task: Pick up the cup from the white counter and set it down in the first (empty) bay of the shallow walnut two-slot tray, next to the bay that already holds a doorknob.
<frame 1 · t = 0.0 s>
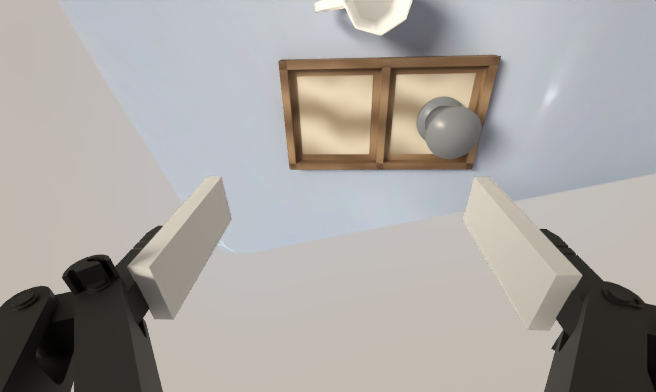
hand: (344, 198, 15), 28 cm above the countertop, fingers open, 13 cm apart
cup: (359, 2, 34), on the countertop
doorknob: (439, 120, 40), point 1 cm above the countertop, touching slot tray
slot tray: (381, 115, 41), on the countertop
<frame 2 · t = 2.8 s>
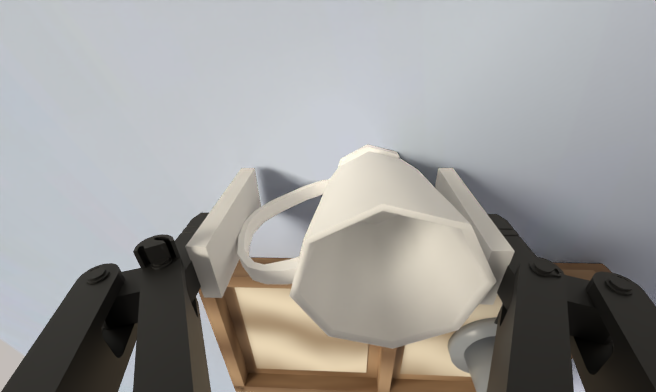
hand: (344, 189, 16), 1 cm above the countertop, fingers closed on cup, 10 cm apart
cup: (345, 181, 17), on the countertop, touching gripper
doorknob: (489, 343, 23), point 1 cm above the countertop, touching slot tray
slot tray: (386, 328, 24), on the countertop
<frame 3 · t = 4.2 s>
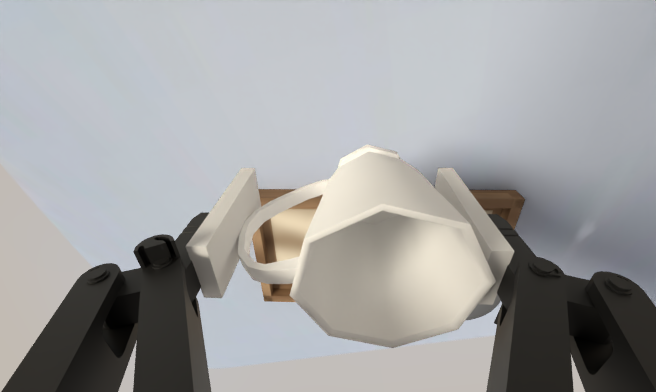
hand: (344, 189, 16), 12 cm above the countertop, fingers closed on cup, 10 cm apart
cup: (345, 181, 17), point 11 cm above the countertop, touching gripper
slot tray: (374, 246, 33), on the countertop
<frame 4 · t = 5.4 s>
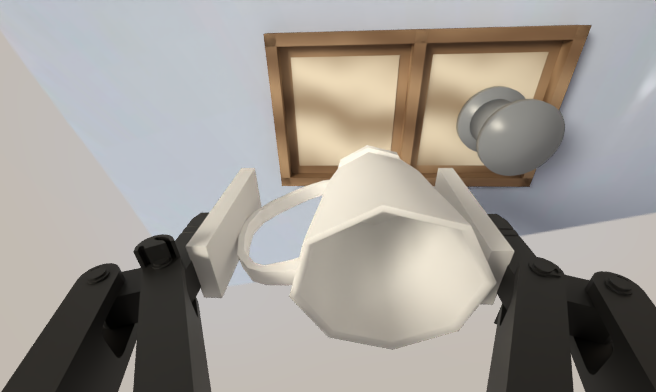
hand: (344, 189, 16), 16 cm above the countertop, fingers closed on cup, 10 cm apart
cup: (345, 181, 17), point 15 cm above the countertop, touching gripper
doorknob: (489, 119, 29), point 1 cm above the countertop, touching slot tray
slot tray: (407, 113, 30), on the countertop
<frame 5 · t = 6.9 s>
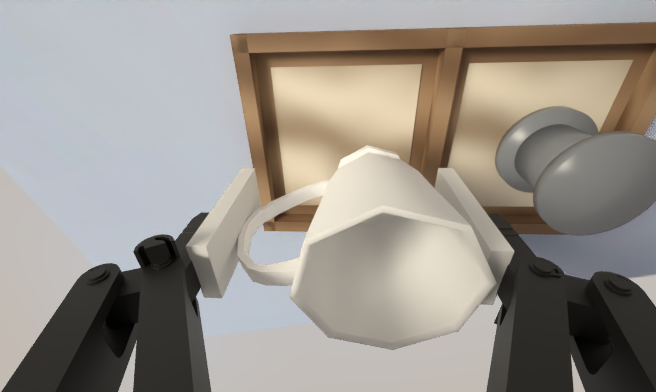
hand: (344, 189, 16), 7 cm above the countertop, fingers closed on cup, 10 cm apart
cup: (345, 182, 17), point 6 cm above the countertop, touching gripper
doorknob: (541, 150, 21), point 1 cm above the countertop, touching slot tray
slot tray: (429, 140, 22), on the countertop
when the fingers open (3 cm above the countertop, at t = 8.3 s): cup drops 2 cm, resting on slot tray.
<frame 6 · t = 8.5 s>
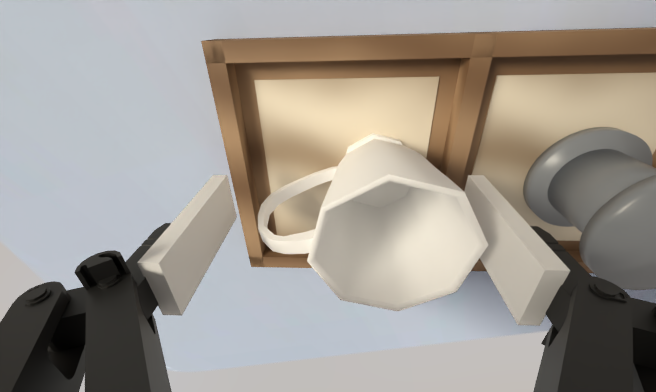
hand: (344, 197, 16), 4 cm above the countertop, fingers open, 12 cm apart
cup: (352, 168, 19), point 1 cm above the countertop, touching slot tray
doorknob: (579, 177, 18), point 1 cm above the countertop, touching slot tray
slot tray: (445, 165, 19), on the countertop
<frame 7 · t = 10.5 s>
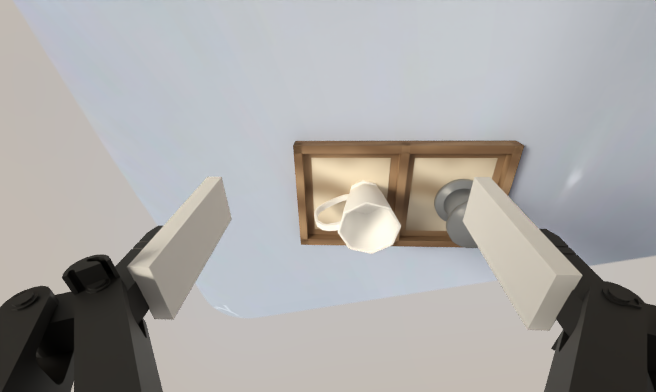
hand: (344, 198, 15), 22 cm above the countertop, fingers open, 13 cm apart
cup: (353, 195, 39), resting on slot tray
doorknob: (458, 200, 39), point 1 cm above the countertop, touching slot tray
slot tray: (397, 194, 39), on the countertop
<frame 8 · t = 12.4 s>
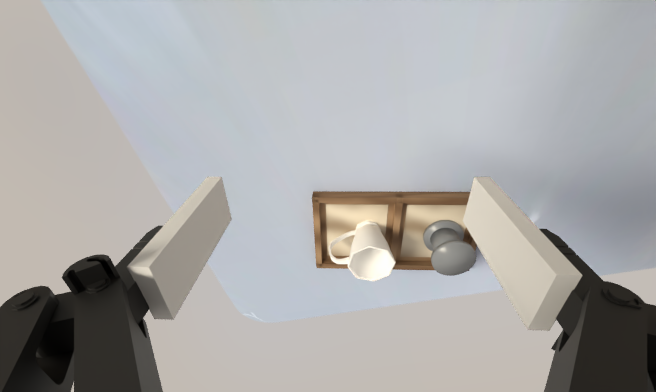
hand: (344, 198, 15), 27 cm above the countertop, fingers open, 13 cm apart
cup: (358, 230, 49), point 1 cm above the countertop, touching slot tray
doorknob: (442, 235, 49), point 1 cm above the countertop, touching slot tray
slot tray: (394, 229, 49), on the countertop
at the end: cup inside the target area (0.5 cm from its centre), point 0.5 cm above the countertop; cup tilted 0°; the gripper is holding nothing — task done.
